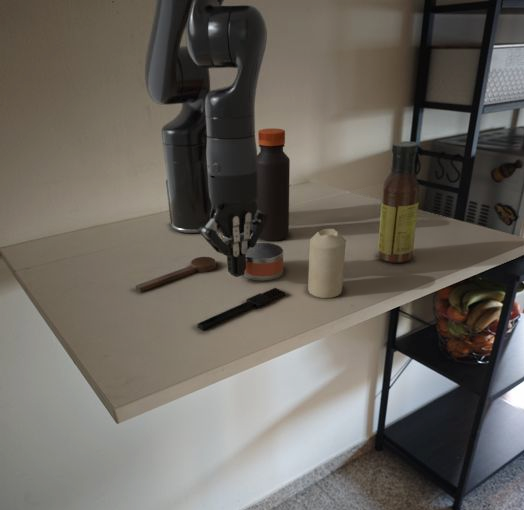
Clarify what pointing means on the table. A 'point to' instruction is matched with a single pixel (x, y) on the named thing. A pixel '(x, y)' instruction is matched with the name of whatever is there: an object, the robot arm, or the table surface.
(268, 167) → the vinegar
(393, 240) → the sauce bottle
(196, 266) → the spoon
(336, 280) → the candle
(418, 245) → the table surface
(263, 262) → the tin can
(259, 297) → the fork
